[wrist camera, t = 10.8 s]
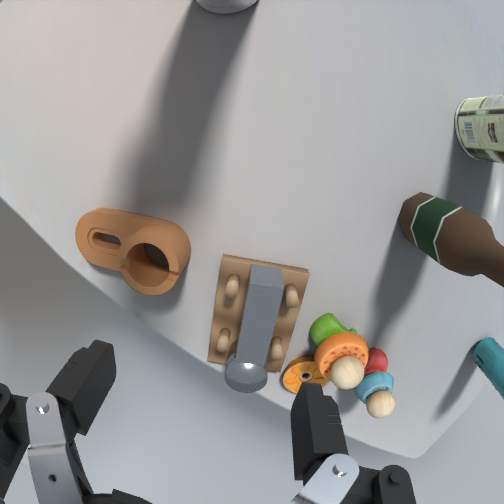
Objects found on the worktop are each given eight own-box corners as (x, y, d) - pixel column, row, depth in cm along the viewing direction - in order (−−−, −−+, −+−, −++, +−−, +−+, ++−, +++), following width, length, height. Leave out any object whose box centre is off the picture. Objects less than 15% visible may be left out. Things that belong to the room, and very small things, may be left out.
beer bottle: (439, 190, 37) (561, 240, 14) (437, 239, 39) (542, 316, 17) (396, 192, 37) (517, 248, 15) (396, 244, 40) (495, 336, 17)
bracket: (195, 225, 40) (182, 241, 34) (187, 279, 43) (174, 302, 37) (85, 203, 40) (60, 214, 33) (84, 253, 42) (61, 269, 36)
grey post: (244, 262, 40) (241, 281, 34) (288, 269, 40) (292, 290, 34) (226, 363, 46) (222, 389, 40) (263, 368, 46) (262, 394, 40)
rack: (223, 254, 41) (217, 271, 36) (307, 269, 42) (313, 288, 36) (209, 353, 47) (203, 377, 42) (279, 364, 48) (281, 388, 42)
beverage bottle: (466, 345, 46) (514, 408, 28) (489, 326, 45) (540, 383, 26) (470, 361, 48) (512, 422, 29) (491, 344, 46) (537, 399, 28)
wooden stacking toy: (267, 373, 49) (267, 428, 37) (330, 302, 44) (349, 353, 32) (341, 404, 52) (353, 452, 40) (402, 345, 46) (429, 391, 35)
